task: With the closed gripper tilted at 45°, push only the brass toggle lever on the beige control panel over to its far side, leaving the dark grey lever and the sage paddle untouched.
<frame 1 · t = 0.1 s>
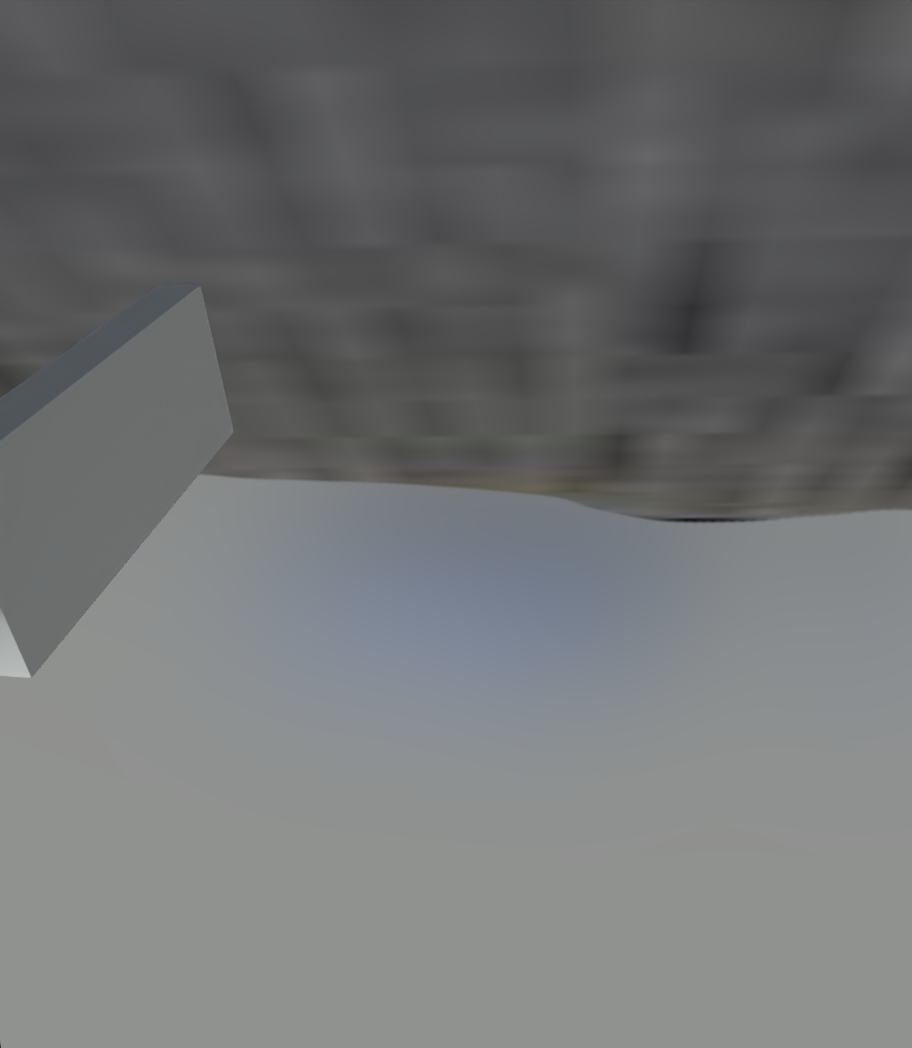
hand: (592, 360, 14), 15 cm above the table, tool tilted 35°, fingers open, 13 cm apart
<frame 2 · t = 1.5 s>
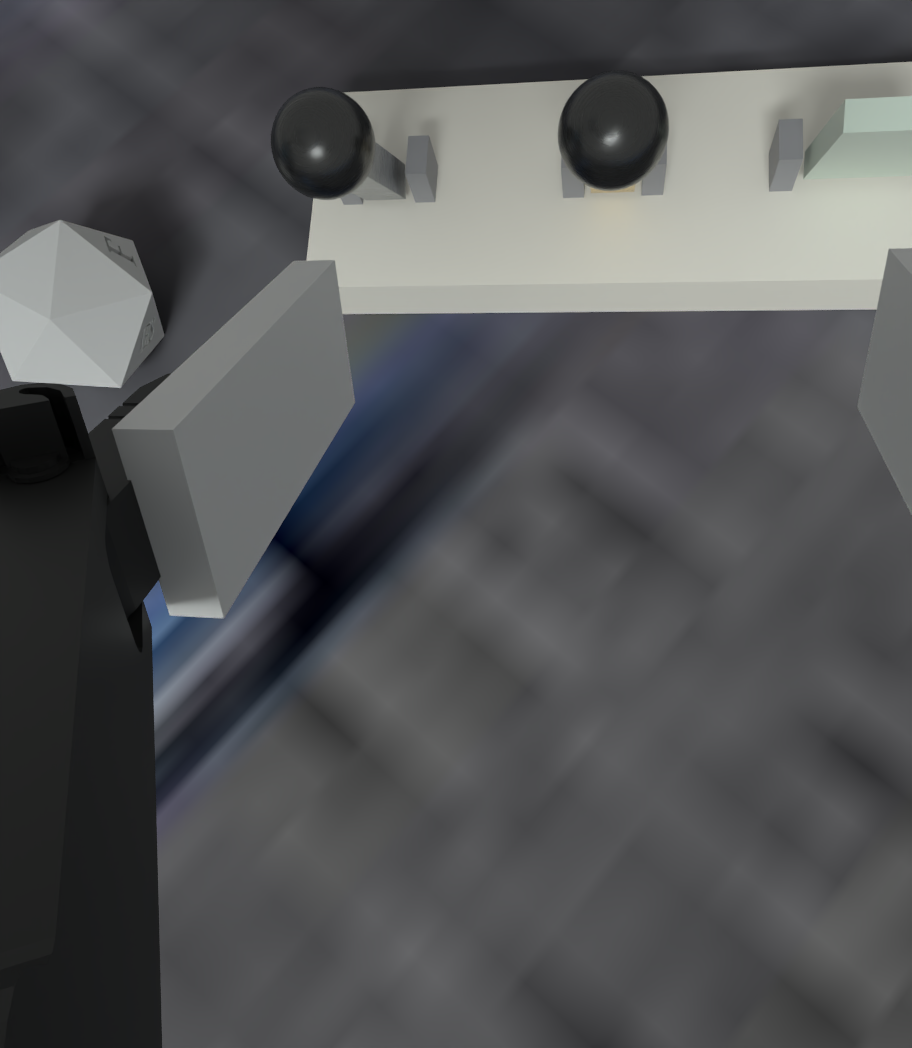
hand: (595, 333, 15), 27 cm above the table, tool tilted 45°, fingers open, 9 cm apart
die: (116, 341, 48), on the table
grey lever: (351, 161, 37), point 9 cm above the table, hinge at -25.0°
brass lever: (612, 151, 35), point 9 cm above the table, hinge at -25.0°
sage paddle: (886, 140, 36), point 7 cm above the table, hinge at -20.0°
panel: (612, 212, 45), on the table
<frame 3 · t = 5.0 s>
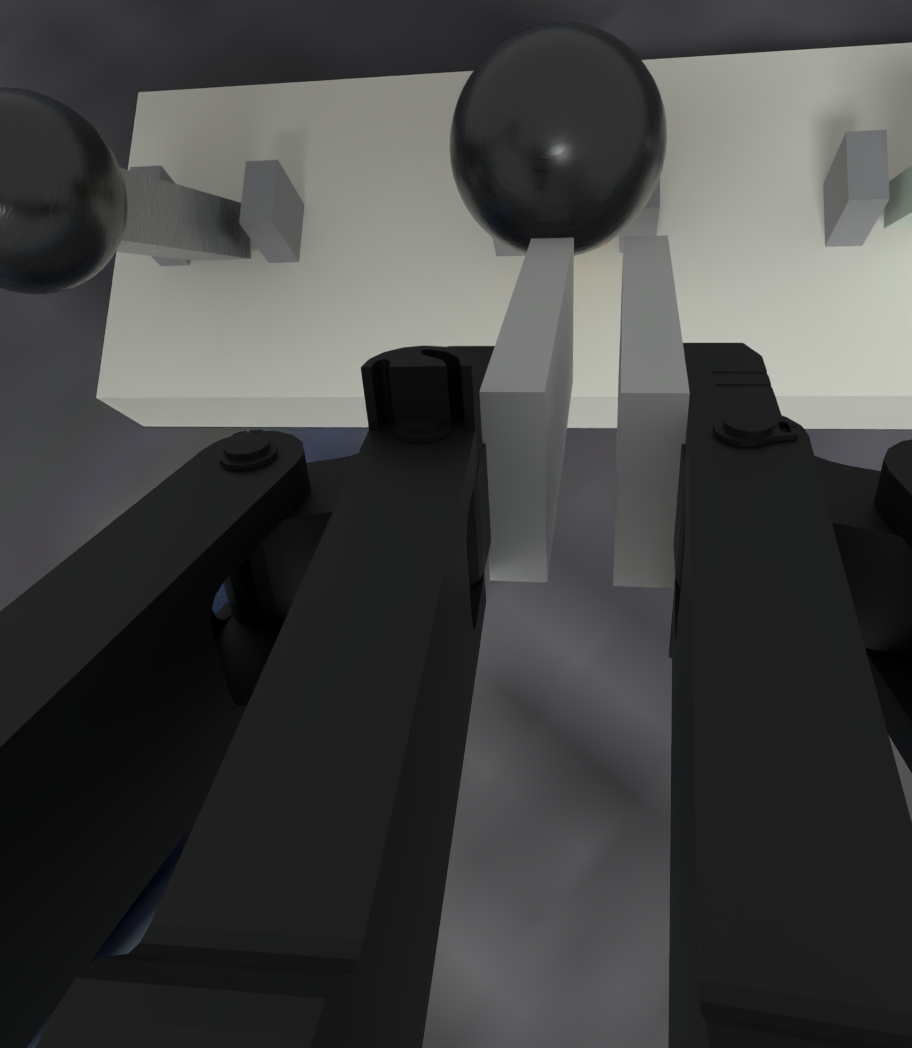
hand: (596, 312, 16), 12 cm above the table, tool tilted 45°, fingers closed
grey lever: (121, 213, 22), point 9 cm above the table, hinge at -25.0°
brass lever: (565, 182, 20), point 9 cm above the table, hinge at -22.6°, touching gripper
panel: (577, 271, 29), on the table
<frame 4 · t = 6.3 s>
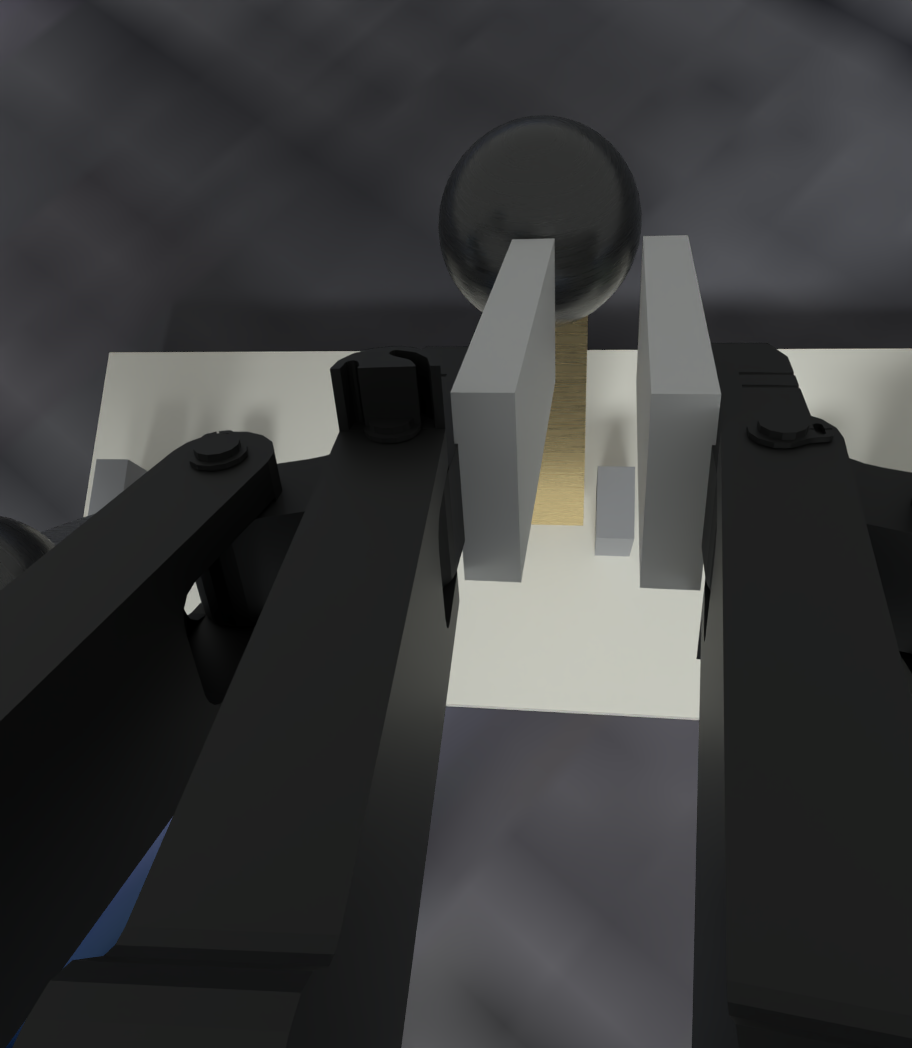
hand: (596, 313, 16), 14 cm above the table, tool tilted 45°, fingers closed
grey lever: (80, 566, 21), point 9 cm above the table, hinge at -25.0°
brass lever: (543, 360, 20), point 9 cm above the table, hinge at 20.6°, touching gripper
panel: (552, 542, 29), on the table
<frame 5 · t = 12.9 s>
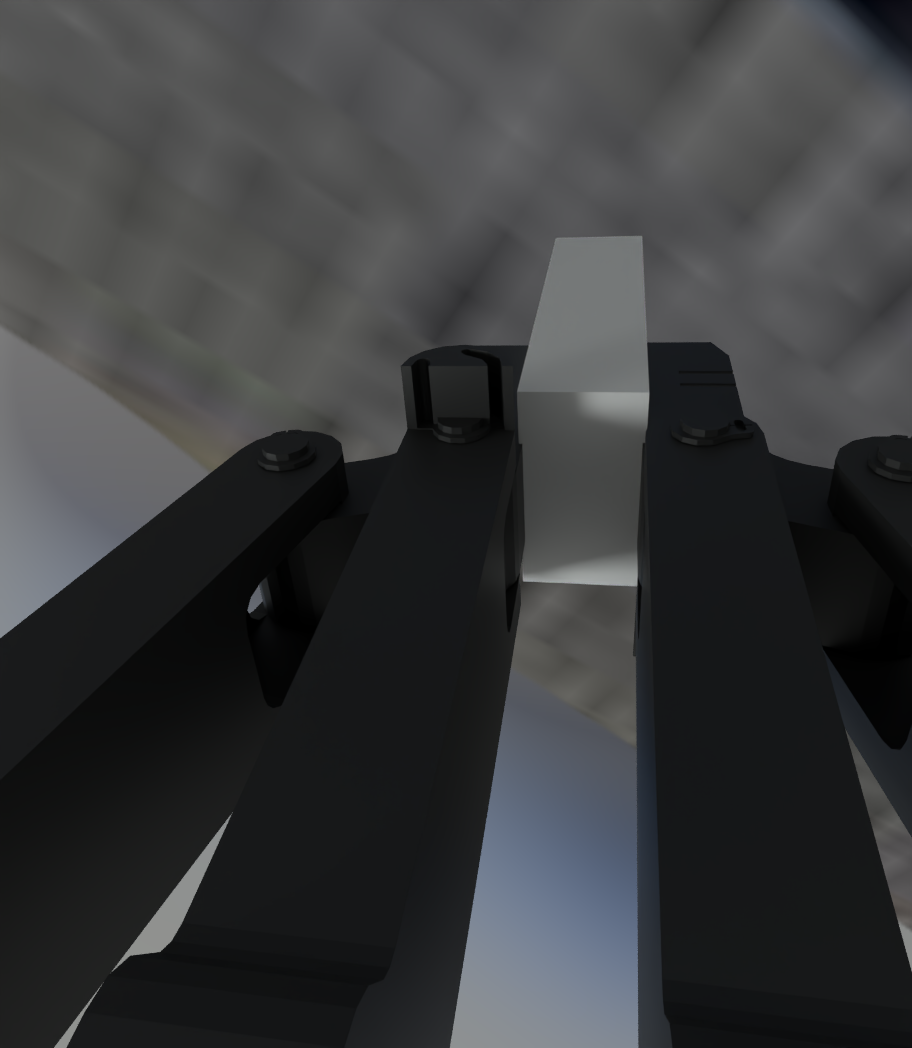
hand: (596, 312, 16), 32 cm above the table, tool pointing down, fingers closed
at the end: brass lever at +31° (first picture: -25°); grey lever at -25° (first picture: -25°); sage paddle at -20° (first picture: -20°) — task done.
